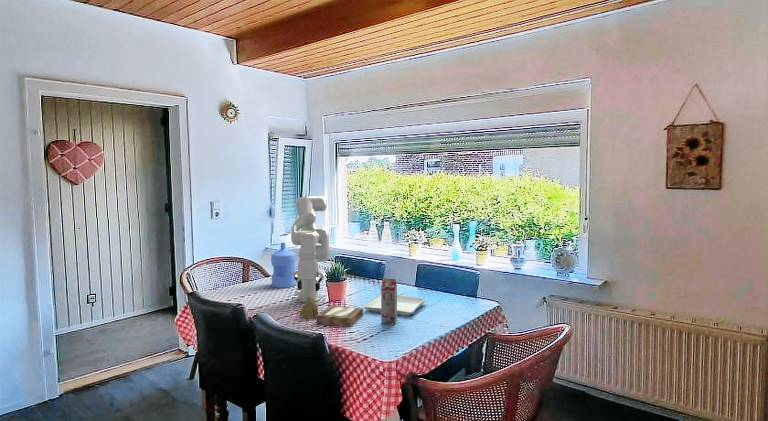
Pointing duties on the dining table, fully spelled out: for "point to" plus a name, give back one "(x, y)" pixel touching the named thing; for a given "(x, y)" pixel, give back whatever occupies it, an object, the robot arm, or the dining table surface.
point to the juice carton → (388, 301)
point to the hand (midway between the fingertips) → (308, 290)
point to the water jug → (283, 268)
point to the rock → (309, 309)
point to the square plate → (403, 305)
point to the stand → (339, 316)
